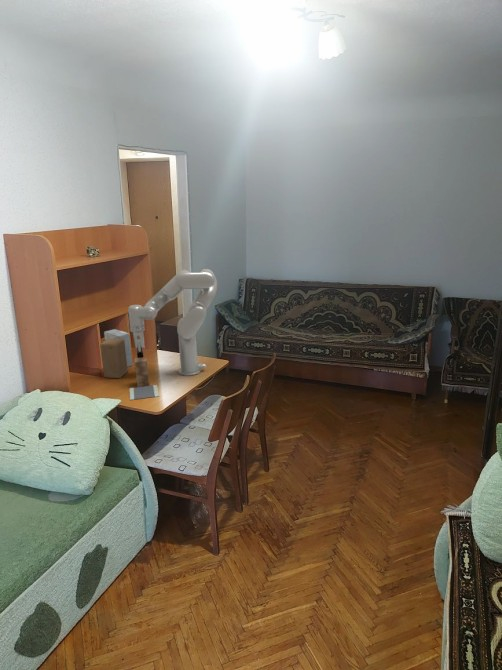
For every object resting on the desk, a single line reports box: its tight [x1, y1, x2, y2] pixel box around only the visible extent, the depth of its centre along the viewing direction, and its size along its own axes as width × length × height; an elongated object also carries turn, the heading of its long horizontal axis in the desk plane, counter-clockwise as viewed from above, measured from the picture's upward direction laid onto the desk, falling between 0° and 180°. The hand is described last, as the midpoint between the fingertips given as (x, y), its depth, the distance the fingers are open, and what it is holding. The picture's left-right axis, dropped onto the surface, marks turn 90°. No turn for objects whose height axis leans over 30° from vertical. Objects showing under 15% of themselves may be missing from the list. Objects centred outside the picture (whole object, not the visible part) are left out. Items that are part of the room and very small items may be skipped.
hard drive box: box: [103, 328, 133, 368], centre depth 268 cm, size 16×8×20 cm, turn 49°
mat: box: [129, 384, 160, 401], centre depth 232 cm, size 14×14×1 cm
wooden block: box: [99, 339, 129, 379], centre depth 253 cm, size 10×10×20 cm
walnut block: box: [134, 356, 150, 387], centre depth 240 cm, size 6×6×14 cm
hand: (140, 359), depth 252 cm, fingers closed
